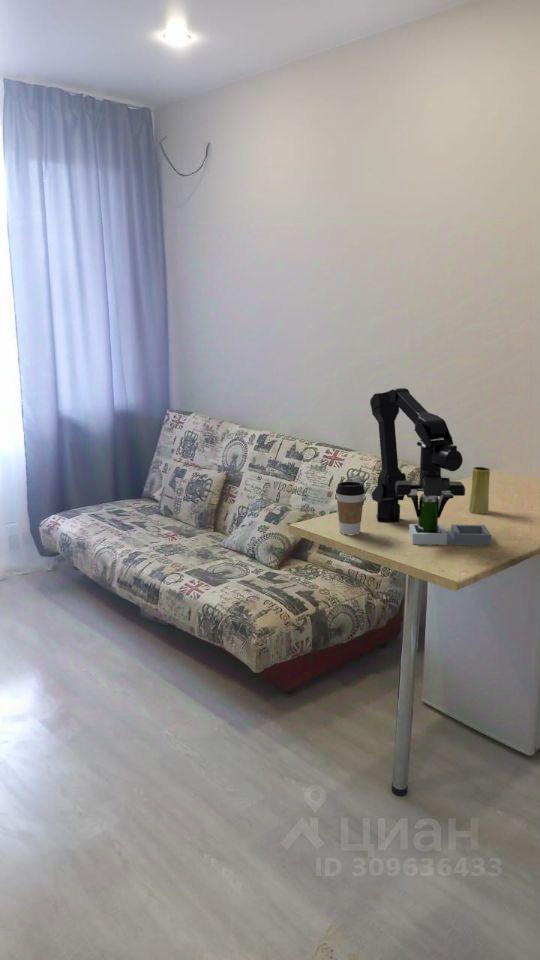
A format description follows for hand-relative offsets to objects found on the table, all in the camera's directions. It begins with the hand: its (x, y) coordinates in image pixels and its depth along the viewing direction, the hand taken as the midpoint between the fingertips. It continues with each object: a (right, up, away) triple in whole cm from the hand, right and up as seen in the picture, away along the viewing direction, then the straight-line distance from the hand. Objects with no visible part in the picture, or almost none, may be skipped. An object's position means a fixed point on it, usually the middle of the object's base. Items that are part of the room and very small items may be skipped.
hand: (428, 517), depth 198 cm
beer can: (0, -6, +1) cm, 6 cm away
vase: (+23, 0, +28) cm, 36 cm away
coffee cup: (-21, -5, +8) cm, 23 cm away
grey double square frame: (+6, -6, +1) cm, 9 cm away
